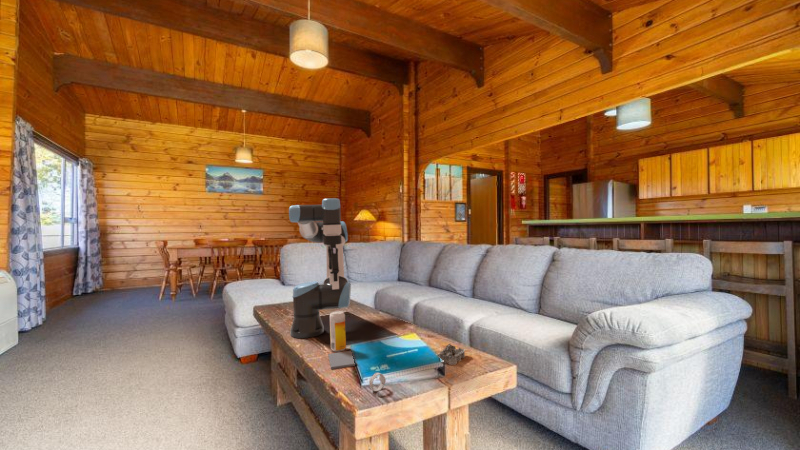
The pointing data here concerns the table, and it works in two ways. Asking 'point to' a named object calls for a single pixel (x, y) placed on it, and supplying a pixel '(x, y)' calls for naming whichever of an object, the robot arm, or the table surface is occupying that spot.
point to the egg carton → (451, 354)
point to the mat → (341, 359)
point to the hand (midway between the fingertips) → (334, 286)
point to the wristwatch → (382, 381)
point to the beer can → (337, 331)
